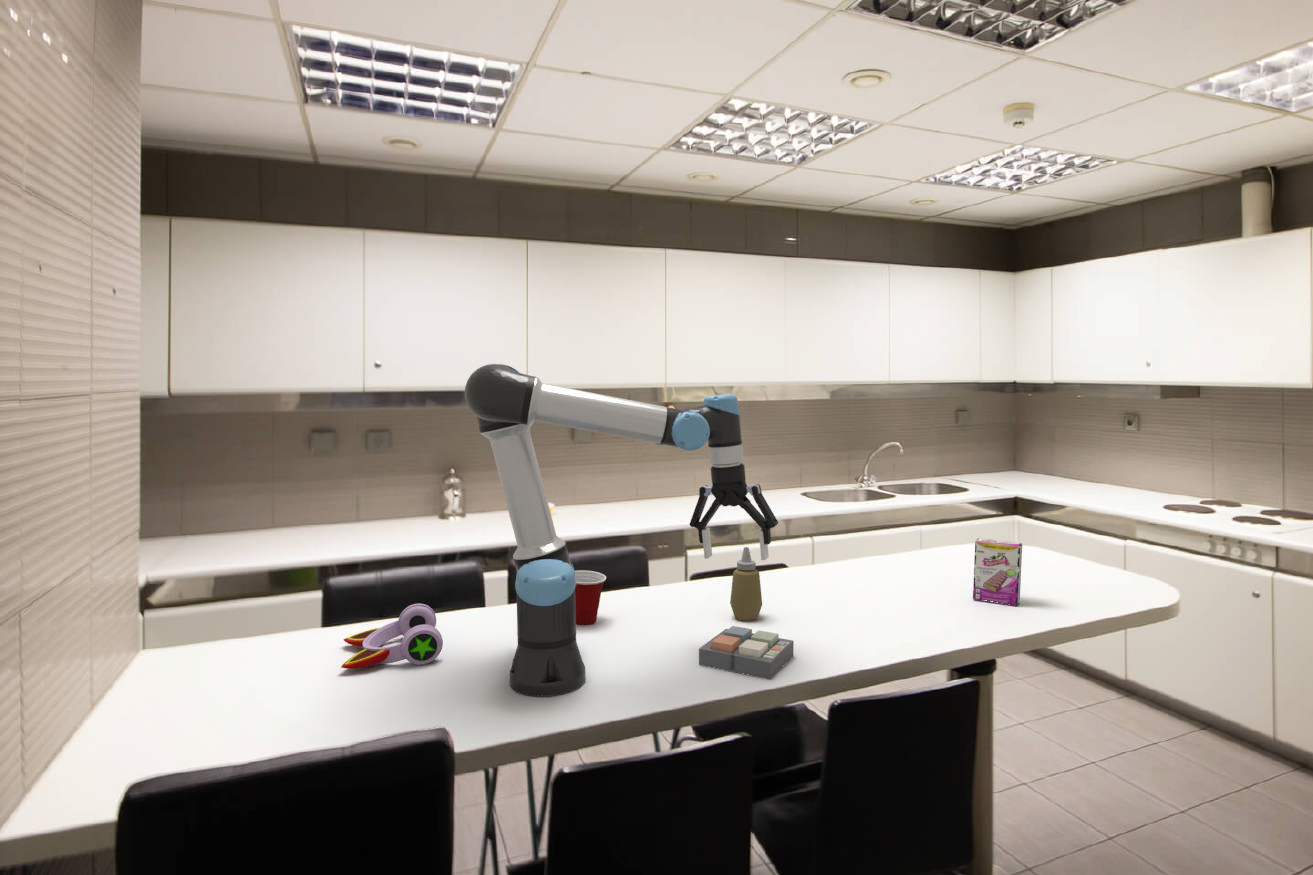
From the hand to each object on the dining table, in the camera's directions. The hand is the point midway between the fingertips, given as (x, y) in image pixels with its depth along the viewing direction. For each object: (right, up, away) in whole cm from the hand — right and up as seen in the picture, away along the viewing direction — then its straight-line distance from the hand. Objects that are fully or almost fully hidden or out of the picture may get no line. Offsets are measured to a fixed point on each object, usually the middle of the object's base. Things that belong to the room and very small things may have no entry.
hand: (736, 557), depth 164 cm
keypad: (+2, -21, -7) cm, 22 cm away
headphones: (-77, -22, -1) cm, 80 cm away
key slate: (0, -19, -3) cm, 19 cm away
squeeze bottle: (+5, -19, +21) cm, 29 cm away
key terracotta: (-3, -19, -8) cm, 21 cm away
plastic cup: (-36, -19, +19) cm, 45 cm away
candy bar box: (+73, -17, +33) cm, 82 cm away
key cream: (+2, -19, -11) cm, 22 cm away
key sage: (+6, -19, -6) cm, 20 cm away
